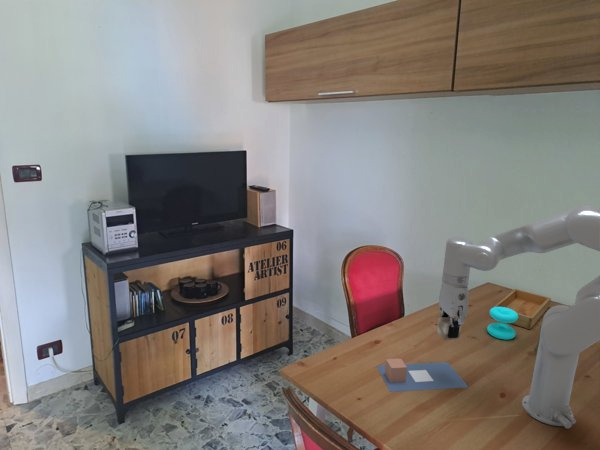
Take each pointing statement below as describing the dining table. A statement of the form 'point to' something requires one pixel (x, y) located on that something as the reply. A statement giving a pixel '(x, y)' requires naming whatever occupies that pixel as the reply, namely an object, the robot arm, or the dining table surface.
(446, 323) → the cream block
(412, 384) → the board
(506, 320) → the donuts
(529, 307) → the tray
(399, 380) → the terracotta block
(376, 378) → the dining table surface
